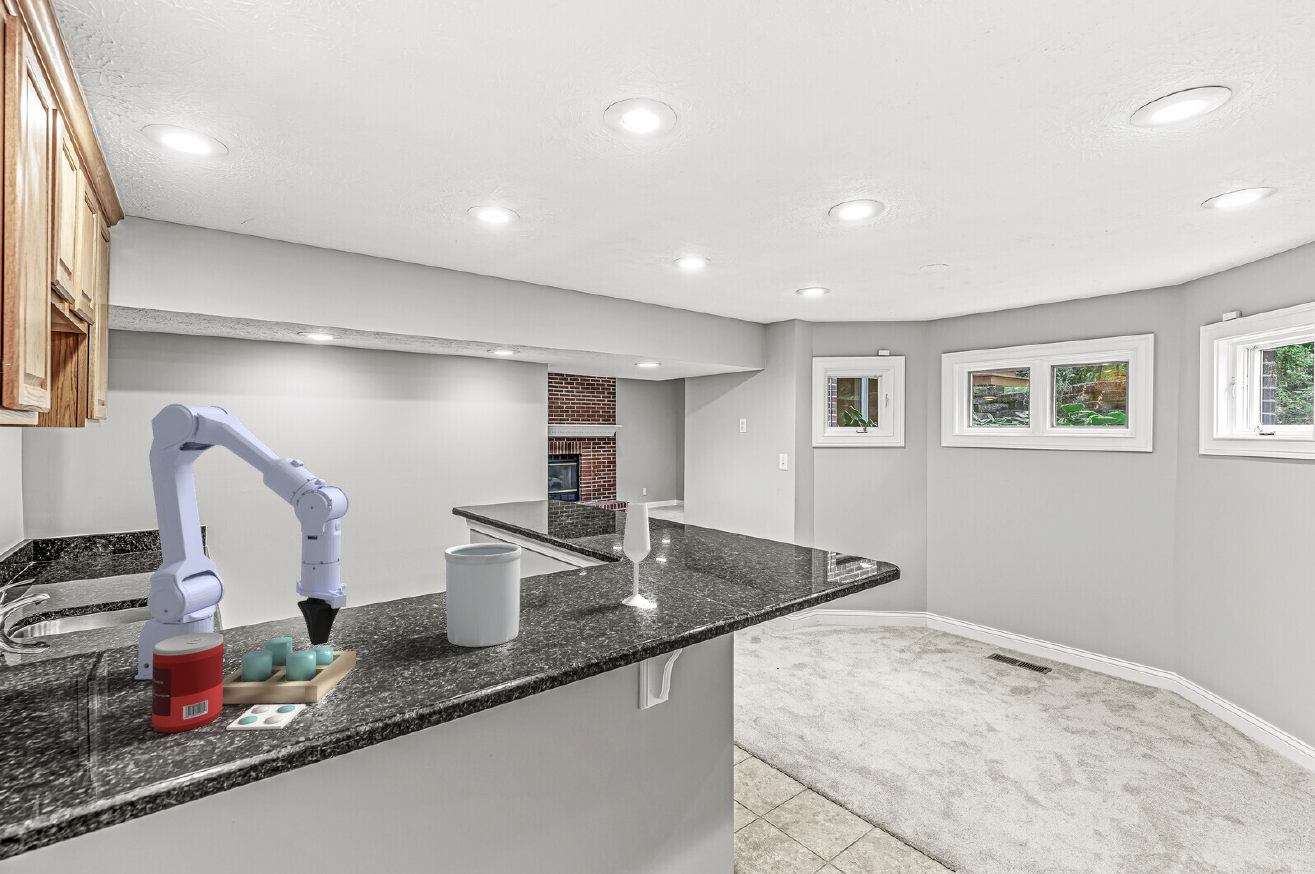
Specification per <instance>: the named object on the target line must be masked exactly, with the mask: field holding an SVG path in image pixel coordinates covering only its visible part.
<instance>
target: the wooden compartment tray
mask: <svg viewBox="0 0 1315 874" xmlns="http://www.w3.org/2000/svg"><path fill="white" fill-rule="evenodd" d="M356 666H357V651H356V650H346V651H345V650H342V651H341V650H339V651H337V650H335V651H334V650H333V662H332V663H331V664H330V665H327V666H316V675H315V677H314V678H312V679H309V680H306V681H286V665H283V666H272V676H271V677H270V678H269V679H266V680H263V681H260V682H242V681H241V667H239V668H237V669H236V670H235V671H232V672H231V673H230V674H228V675H227V676H225V677H223V697H222V705H237V704H239V705H240V704H241V705H243V704H246V705H247V704H292V703H293V704H299V703H300V704H306V703H307V704H309V703H318V702H319V701H320V700H321V699H322V698H323V697H324V696H326V695H327V693H328V692H330V690H332V689H333V688H334V687H335V686H336V685H337V684H338V683H339V682H340V681H341V680H342V679H343V678H344V677H345V676H347V675H348V673H350V672H351V671H352V670H353V669H354V668H355V667H356Z"/></svg>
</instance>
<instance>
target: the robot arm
mask: <svg viewBox="0 0 1315 874" xmlns="http://www.w3.org/2000/svg"><path fill="white" fill-rule="evenodd" d="M151 428H152V436H153V439H152V441H151V442H152V443H151V446H150V451H149V454H148V455H149V458H148V459H149V466H150V474H151V482H152V488H153V497H154V504H155V511H156V518H157V524H158V535H159V539H160V541H159V543H160V546H161V547H160V549H161V554H162V555H161V556H162V563H161V565H160V566H159V567H158V568H157V569H156V570H155V571H154V573H153V574H152V575H151V576H150V578H149V579H150V581H149V582H150V591H149V594H148V596H147V609H148V610H149V613H150V614H151V616H152V617H153V618H151V619H149V620H147V621H146V623H145V624H144V625H143V626H142V628H141V630H140V633H139V637H138V659H137V662H138V665H137V667H138V669H137V670H138V672H137V675H135V676H134V680H152V671H153V650H154V646H155V645H156V644H157V643H159V642H161V641H163V640H166V639H169V638H172V637H176V636H181V635H186V634H193V633H214V624H215V623H214V621H215V620H214V616H215V615H214V613H215V612H216V611H217V605H218V604H220V603H221V601H222V600H223V599H224V596H225V593H226V591H225V590H226V588H225V587H226V586H225V583H224V580H223V579H222V577H221V576H220V574H219V573H218V572H219V571H218V568H217V563H215V562H214V561H213V560H212V559H211V558H209V557H207V556H206V555H205V551H204V543H203V535H202V528H201V523H200V521H201V520H200V515H199V514H200V513H199V508H198V507H199V505H198V498H197V492H196V484H195V476H194V470H193V463H195V461H196V460H197V459H198V458H199V457H200V456H201V455H202V454H203V453H204V452H207V451H208V450H209V449H211V448H213V447H215V446H222V447H224V448H226V449H227V450H229V452H232V453H233V454H234V455H235V456H237V457H238V458H240V459H242V460H243V461H245V463H248V464H249V465H250V466H251V467H254V468H255V469H256V470H258V471H259V472H260V473H262V474H263V477H262V481H263V484H264V486H266V487H267V488H268V489H270V490H271V491H273V492H274V493H275V494H276V495H278V496H279V497H280V498H282V499H283V500H284V501H286V502H287V503H288V504H289V505H290V506H292V507H293V508H294V514H295V516H296V518H297V520H298V521H299V522H300V527H301V529H300V532H302V533H301V561H300V563H301V565H300V566H301V570H300V571H301V572H300V580H297V581H296V585H295V586H296V588H295V589H296V590H295V591H296V593H297V594H299V596H301V597H305V598H306V599H304V600H299V601H298V602H296V603H297V604H296V605H297V608H299V610H300V612H301V613H302V616H303V619H304V621H305V624H306V629H307V632H308V638H309V641H310V644H311V645H312V646H314V647H315V646H319V645H324V644H327V643H328V642H329V639H330V635H331V631H332V628H333V624H334V622H335V619H336V616H337V615H338V613H339V611H340V610H341V608H345V607H347V599H348V598H347V595H348V594H346V593H344V590H347V588H348V584H347V583H344V582H341V566H342V565H341V563H342V562H341V561H342V560H341V559H342V558H341V557H342V522H343V521H342V519H343V517H344V516H345V515H346V513H347V512H348V509H349V505H350V503H349V501H350V500H349V497H348V496H347V494H346V493H345V492H344V491H343V489H342V488H341V487H340V486H337V485H327V484H326V482H327V481H326V480H325V479H323V478H318V477H317V476H315V475H314V474H313V473H311V472H310V471H309V470H308V469H306V468H305V467H304V465H305V463H304V462H303V460H301V459H299V458H297V459H294V458H292V457H281V458H280V457H279V456H278V455H277V454H276V453H274V451H272V450H271V449H270V448H269V447H268V446H267V445H265V444H264V443H263V442H262V441H261V440H260V439H258V438H257V437H256V436H255V435H254V434H253V433H252V432H251V431H250V430H248V429H247V428H246V427H245V426H244V425H243V424H242V423H241V420H240V419H239V417H238V416H236V415H233V414H231V413H230V411H228V410H227V409H226V408H225V407H223V406H222V407H221V406H217V405H214V406H213V405H211V406H207V405H206V406H205V405H204V406H203V405H193V404H192V405H188V404H183V403H171V404H168V405H166V406H165V407H164V408H162V409H161V410H160V411H159V412H158V413H157V414H156V415H155V416H154V417H153V418H152V419H151ZM225 660H226V659H225V658H223V663H224V662H225Z"/></svg>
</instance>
